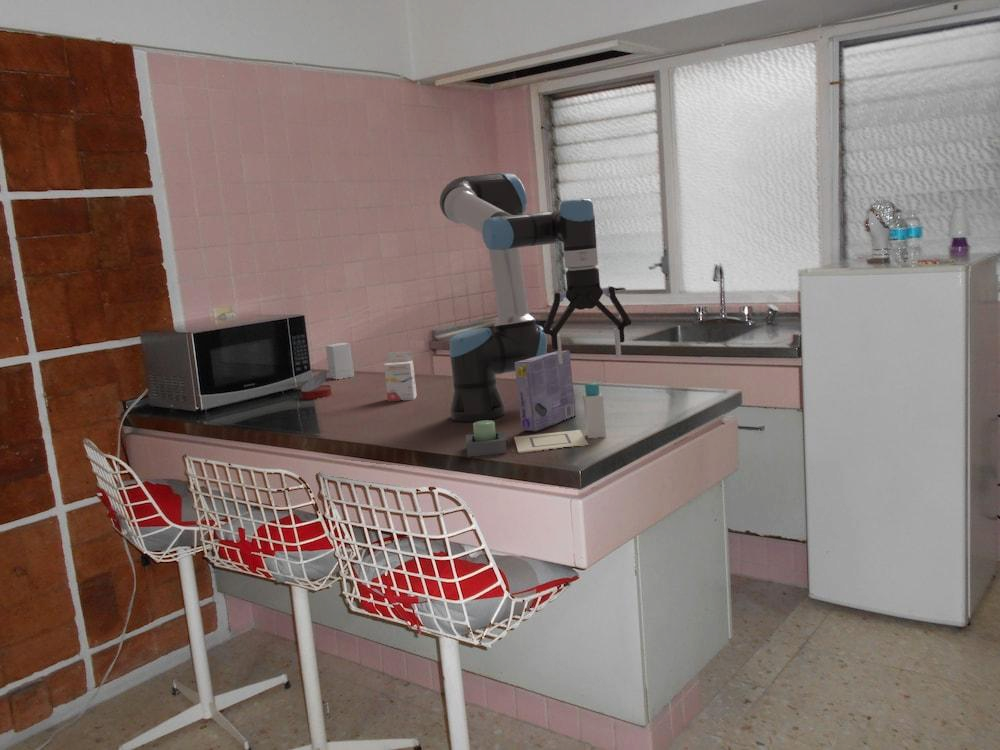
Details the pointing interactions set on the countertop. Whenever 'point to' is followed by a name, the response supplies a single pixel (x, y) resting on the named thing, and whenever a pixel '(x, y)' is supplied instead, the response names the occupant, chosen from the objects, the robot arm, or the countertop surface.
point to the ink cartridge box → (400, 377)
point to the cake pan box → (544, 391)
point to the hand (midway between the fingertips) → (589, 360)
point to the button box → (486, 445)
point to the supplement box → (340, 360)
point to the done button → (484, 430)
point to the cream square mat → (549, 441)
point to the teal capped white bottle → (594, 411)
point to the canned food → (316, 387)
